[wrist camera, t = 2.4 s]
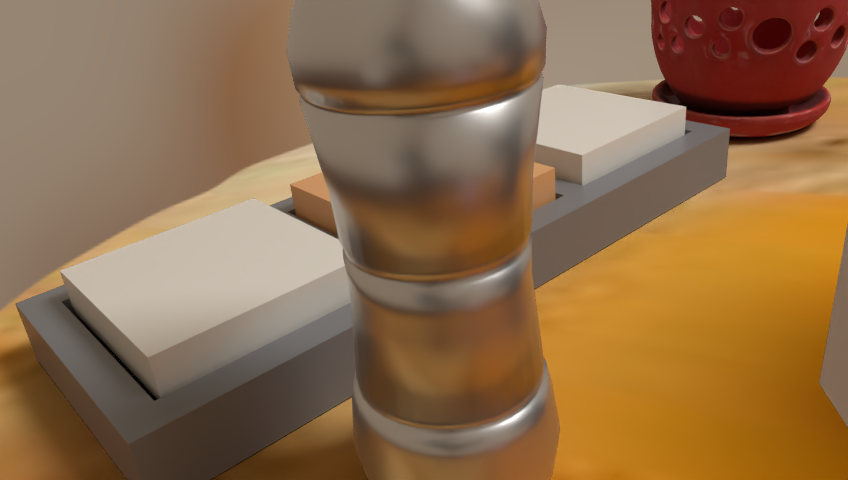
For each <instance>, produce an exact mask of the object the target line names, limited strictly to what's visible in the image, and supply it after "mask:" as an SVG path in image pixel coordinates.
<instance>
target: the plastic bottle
mask: <svg viewBox="0 0 848 480" xmlns="http://www.w3.org/2000/svg"><path fill="white" fill-rule="evenodd" d="M546 31H547V27H546V24H545V20H544V17H543V14H542V11H541V8H540V4H539V1H538V0H294V3H293V6H292V8H291V13H290V23H289V34H288V45H287V57H288V61H289V65H290V68H291V73H292V77H293V81H294V85H295V89H296V90H297V91H298V93H299V94H300V104H301V107H302V111H303V114H304V117H305V120H306V123H307V126H308V129H309V132H310V135H311V139H312V141H313V145H314V148H315V151H316V154H317V157H318V160H319V164H320V167H321V170H322V173H323V176H324V179H325V182H326V185H327V188H328V192H329V196H330V200H331V205H332V210H333V214H334V219H335V223H336V228H337V232H338V237H339V241H340V243H341V245H342V247H343V250H342V251H343V260H344V264H345V269H346V273H347V278H348V282H349V288H350V302H351V315H352V329H353V343H354V356H355V369H356V371H355V376H354V383H353V395H352V411H353V438H354V447H355V449H356V452H357V454H358V457H359V459H360V462H361V464H362V467H363V469H364V472H365V474H366V477H367V479H368V480H550V479H551V476H552V473H553V468H554V463H555V457H556V452H557V447H558V441H559V433H560V425H559V419H558V413H557V407H556V402H555V396H554V391H553V386H552V380H551V377H550V374H549V370H548V367H547V363H546V361H545V359H544V357H543V351H542V344H541V336H540V329H539V321H538V314H537V306H536V299H535V291H534V284H533V276H532V236H531V232H530V231H531V227H532V224H533V170H534V161H535V152H536V143H537V133H538V124H539V115H540V106H541V97H542V88H543V78H544V77H543V74H542V71H543V68H544V66H545V59H546Z"/></svg>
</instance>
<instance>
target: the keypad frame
mask: <svg viewBox="0 0 848 480" xmlns="http://www.w3.org/2000/svg"><path fill="white" fill-rule="evenodd" d="M729 135H730V129H729V128H724V127H719V126H714V125H708V124H703V123H698V122H693V121H688V120H685V135H684V136H682V137H680V138H678V139H676V140H674V141H672V142H670V143H668V144H666V145H664V146H662V147H660V148H658V149H656V150H654V151H652V152H650V153H648V154H646V155H644V156H642V157H640V158H638V159H636V160H634V161H632V162H630V163H628V164H626V165H624V166H622V167H620V168H618V169H616V170H614V171H612V172H610V173H608V174H606V175H604V176H602V177H600V178H598V179H596V180H594V181H592V182H590V183H588V184H586V185H584V186H582V185H579V184H575V183H572V182H568V181H565V180H561V179H558V178H555V198H556V200H554V201H552V202H550V203H548V204H546V205H544V206H542V207H540V208H538V209H536V210H534V211H533V224H532V227H531V231H530V232H531V236H532V276H533V284H534V289H536V288H537V287H539V286H541V285H542V284H544V283H546V282H547V281H549V280H551V279H553V278H554V277H556V276H558V275H559V274H561V273H563V272H564V271H566V270H568V269H570V268H571V267H573V266H575V265H576V264H578V263H580V262H581V261H583V260H585V259H587V258H588V257H590V256H592V255H593V254H595V253H597V252H598V251H600V250H602V249H604V248H605V247H607V246H609V245H610V244H612V243H614V242H615V241H617V240H619V239H621V238H622V237H624V236H626V235H627V234H629V233H631V232H632V231H634V230H636V229H638V228H639V227H641V226H643V225H644V224H646V223H648V222H650V221H651V220H653V219H655V218H656V217H658V216H660V215H661V214H663V213H665V212H667V211H668V210H670V209H672V208H673V207H675V206H677V205H678V204H680V203H682V202H684V201H685V200H687V199H689V198H690V197H692V196H694V195H695V194H697V193H699V192H701V191H702V190H704V189H706V188H707V187H709V186H711V185H712V184H714V183H716V182H718V181H719V180H721V179H723V178H724V177H726V168H727V157H728V146H729ZM270 206H271V207H273V208H275V209H277V210H279V211H281V212H283V213H285V214H287V215H289V216H291V217H294V218H296V219H298V220H300V221H302V222H304V223H306V224H308V225H310V226H312V227H314V228H316V229H318V230H320V231H322V232H324V233H326V234H328V235H330V236H332V237H334V238H336V239H338V240H339V237H338V236H336V235H334V234H332V233H330V232H328V231H326V230H324V229H322V228H319V227H317V226H315V225H313V224H311V223H309V222H307V221H305V220H303V219H301V218H299V217H297V216H296V213H295V207H294V202H293V197H291V198H288V199H286V200H283V201H280V202H278V203H275V204H273V205H270ZM16 307H17V309H18V312H19V314H20V317H21V319H22V322H23V324H24V327H25V330H26V332H27V335H28V337H29V340H30V342H31V345H32V347H33V350H34V352H35V355H36V357H37V360H38V361H39V363H40V364H41V365H42V367H43V368H44V369H45V371H46V372H47V373H48V375H49V376H50V377H51V379H52V380H53V381H54V383H55V384H56V385H57V387H58V388H59V389H60V391H61V392H62V393H63V395H64V396H65V397H66V399H67V400H68V401H69V403H70V404H71V405H72V407H73V408H74V409H75V411H76V412H77V413H78V415H79V416H80V417H81V419H82V420H83V421H84V423H85V424H86V425H87V427H88V428H89V429H90V431H91V432H92V433H93V435H94V436H95V437H96V439H97V440H98V441H99V443H100V444H101V445H102V447H103V448H104V449H105V451H106V452H107V453H108V455H109V456H110V457H111V459H112V460H113V461H114V463H115V464H116V465H117V467H118V468H119V469H120V471H121V472H122V473H123V475H124V476H125V477H126V479H127V480H211V479H212V478H214V477H216V476H217V475H219V474H221V473H222V472H224V471H226V470H228V469H229V468H231V467H233V466H234V465H236V464H238V463H239V462H241V461H243V460H245V459H246V458H248V457H250V456H251V455H253V454H255V453H256V452H258V451H260V450H262V449H263V448H265V447H267V446H268V445H270V444H272V443H273V442H275V441H277V440H279V439H280V438H282V437H284V436H285V435H287V434H289V433H291V432H292V431H294V430H296V429H297V428H299V427H301V426H302V425H304V424H306V423H308V422H309V421H311V420H313V419H314V418H316V417H318V416H319V415H321V414H323V413H325V412H326V411H328V410H330V409H331V408H333V407H335V406H336V405H338V404H340V403H342V402H343V401H345V400H347V399H348V398H350V397H352V395H353V383H354V376H355V371H356V369H355V356H354V343H353V329H352V315H351V303H349V304H347V305H345V306H343V307H341V308H339V309H337V310H335V311H333V312H331V313H329V314H327V315H325V316H323V317H321V318H319V319H317V320H315V321H313V322H311V323H309V324H307V325H305V326H303V327H301V328H299V329H297V330H295V331H293V332H291V333H289V334H287V335H285V336H283V337H281V338H279V339H277V340H275V341H273V342H271V343H269V344H267V345H265V346H263V347H261V348H259V349H257V350H255V351H253V352H251V353H249V354H247V355H245V356H243V357H241V358H239V359H237V360H235V361H233V362H231V363H229V364H227V365H225V366H223V367H221V368H219V369H217V370H215V371H213V372H211V373H209V374H207V375H205V376H203V377H201V378H199V379H197V380H195V381H193V382H191V383H189V384H187V385H185V386H183V387H181V388H179V389H177V390H175V391H173V392H171V393H169V394H167V395H165V396H163V397H161V398H159V399H157V400H155V401H154V400H153V399H152V398H151V397H150V396H149V395H148V394H147V393H146V392H145V391H144V389H143V388H142V387H141V386H140V385H139V384H138V383H137V382H136V381H135V380H134V379H133V378H132V377H131V376H130V375H129V373H128V372H127V371H126V370H125V369H124V368H123V367H122V366H121V365H120V364H119V363H118V362H117V361H116V360H115V358H114V357H113V356H112V355H111V354H110V353H109V352H108V351H107V350H106V349H105V348H106V347H108V346H107V345H106V344H105V343H104V342H103V341H102V340H101V339H100V338H99V337H98V336H97V335H96V334H95V333H94V332H93V330H92V329H91V328H90V327H89V326H88V325H87V324H86V323H85V322H84V321H83V320H82V319H81V318H80V317H79V316H78V315H77V314H76V312H75V311H74V310H73V307H72V304H71V301H70V298H69V296H68V293H67V290H66V287H65V285H62V286H60V287H57V288H55V289H52V290H49V291H47V292H44V293H42V294H39V295H36V296H34V297H31V298H29V299H26V300H23V301H21V302H18V303H16Z"/></svg>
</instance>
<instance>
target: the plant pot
mask: <svg viewBox="0 0 848 480" xmlns="http://www.w3.org/2000/svg"><path fill="white" fill-rule="evenodd" d="M651 7H652V25H651V27H652V39H653V45H654V50H655V54H656V58H657V61H658V64H659V67H660V69H661V72H662V74H663V76H664V78H665V80H664V81H662V82H660V83H659V84H658V85H656V87H655V88H654V89H653V93H652V97H653V101H657V102H663V103H668V104H674V105H680V106H685V107H686V120H688V121H693V122H698V123H703V124H708V125H714V126H719V127H724V128H729V129H730V135H729V136H730V137H764V136H772V135H778V134H783V133H787V132H792V131H795V130H798V129H801V128H803V127H806V126H808V125H810V124H812V123H813V122H815V121H816V120H817V119H819V118H820V117H821V116H822V115H823V114H824V113H825V112H826V111H827V109H828V107H829V105H830V101H831V97H830V93H829V92H828V90H827V89H826V88H825V87H824V86H823V85H824V83H825V82H826V81H827V80H828V78H829V77H830V76H831V74H832V73H833V71H834V70H835V68H836V66H837V65H838V63H839V62H840V60H841V58H842V56H843V54H844V52H845V50H846V47H847V44H848V0H651ZM731 7H735V8H738V10H733V9H732V8H731ZM819 12H820V15H819V17H818V19H817V20H816V21H815V22H814V20H815V18H816V16H817V14H818V13H819ZM692 15H696V16H698V17H700V18H701V19H702V21H697V20H695V19H694V18H693V16H692Z"/></svg>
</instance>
